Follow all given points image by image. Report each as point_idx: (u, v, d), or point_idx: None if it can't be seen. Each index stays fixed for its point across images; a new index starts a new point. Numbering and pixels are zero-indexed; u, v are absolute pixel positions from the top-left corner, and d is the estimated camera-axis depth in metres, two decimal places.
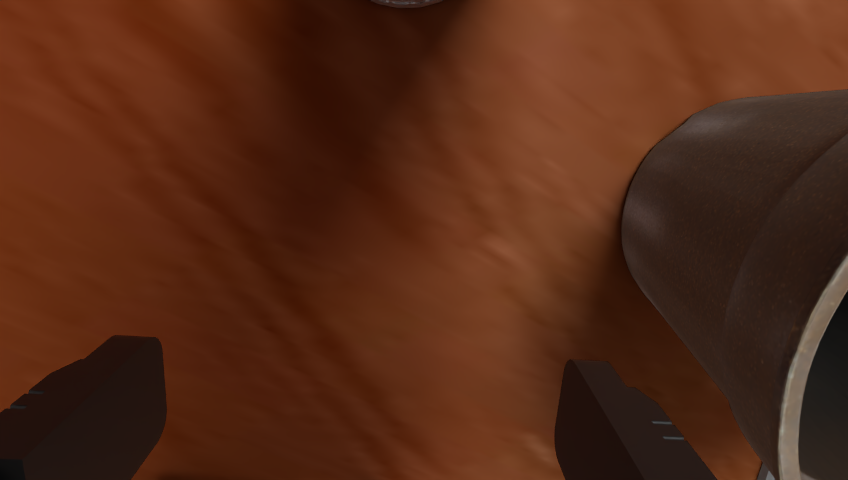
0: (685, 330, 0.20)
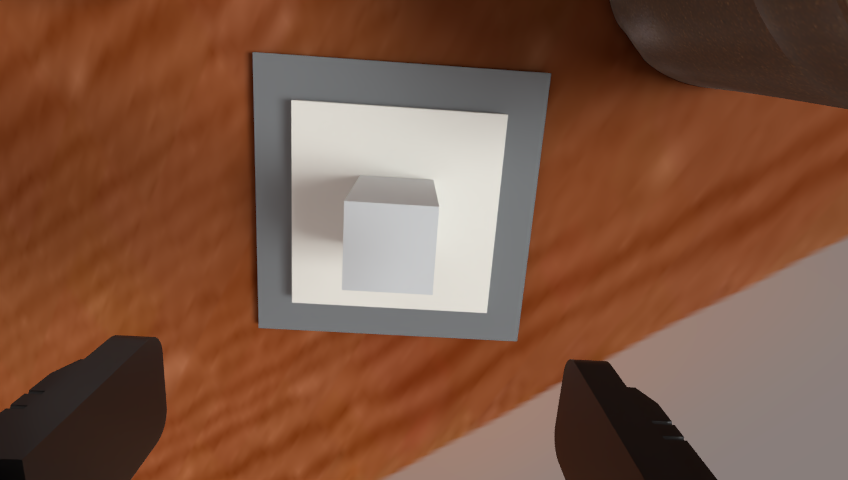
0: None
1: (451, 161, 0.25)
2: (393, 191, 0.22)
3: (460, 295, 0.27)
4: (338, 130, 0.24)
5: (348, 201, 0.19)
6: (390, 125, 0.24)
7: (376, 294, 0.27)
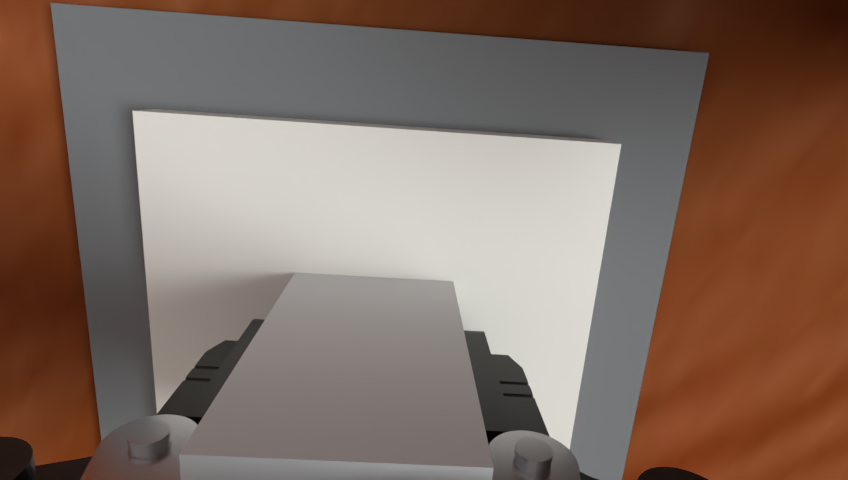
0: None
1: (492, 243, 0.11)
2: (357, 356, 0.08)
3: None
4: (243, 178, 0.11)
5: (195, 452, 0.06)
6: (359, 167, 0.11)
7: None
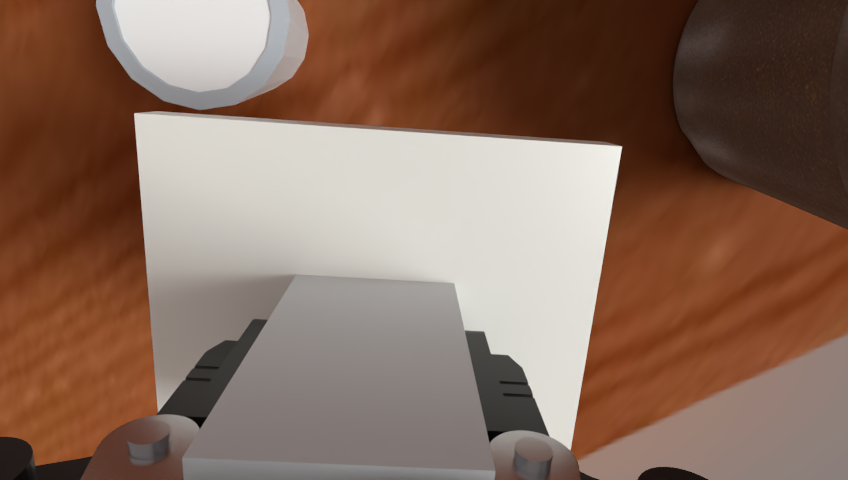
0: None
1: (493, 245, 0.12)
2: (358, 358, 0.08)
3: None
4: (245, 180, 0.11)
5: (198, 455, 0.06)
6: (360, 169, 0.11)
7: None
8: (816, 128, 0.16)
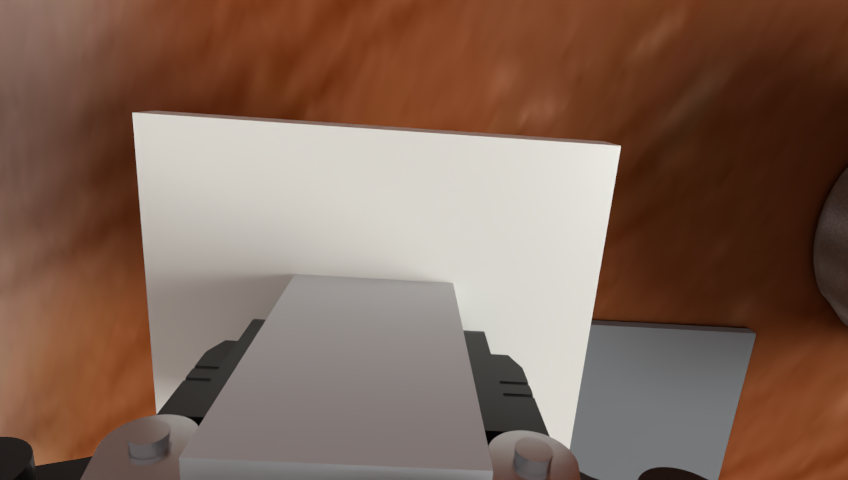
0: None
1: (492, 245, 0.11)
2: (356, 358, 0.08)
3: None
4: (243, 180, 0.11)
5: (195, 455, 0.06)
6: (359, 169, 0.11)
7: None
8: None
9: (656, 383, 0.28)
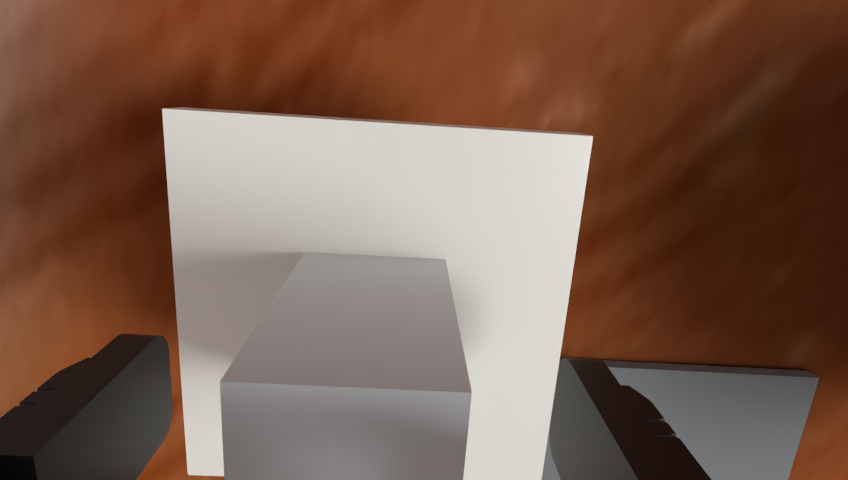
0: None
1: (480, 225, 0.13)
2: (360, 315, 0.10)
3: (493, 459, 0.15)
4: (259, 167, 0.12)
5: (232, 380, 0.07)
6: (361, 157, 0.12)
7: None
8: None
9: (699, 435, 0.23)
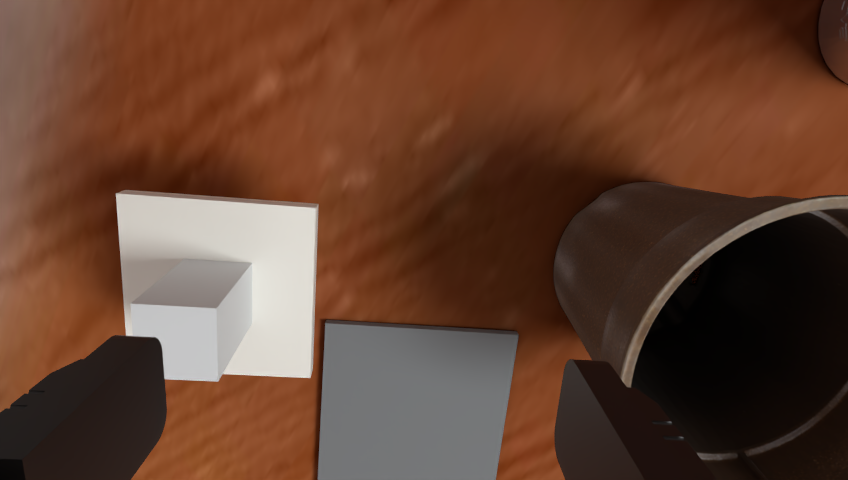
0: (673, 202, 0.28)
1: (267, 247, 0.28)
2: (193, 285, 0.24)
3: (284, 362, 0.30)
4: (161, 220, 0.27)
5: (135, 303, 0.22)
6: (209, 216, 0.27)
7: None
8: None
9: (451, 370, 0.39)
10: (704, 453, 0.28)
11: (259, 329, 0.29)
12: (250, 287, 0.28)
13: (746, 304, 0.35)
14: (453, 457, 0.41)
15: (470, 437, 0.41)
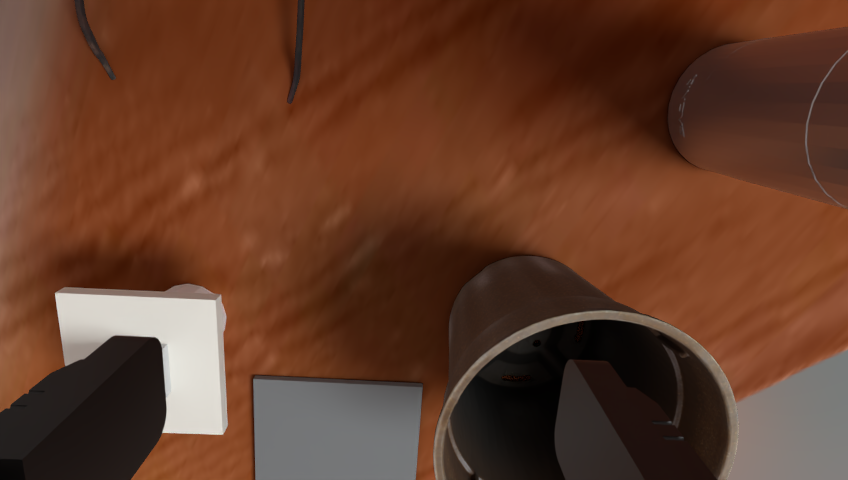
0: (515, 290, 0.34)
1: (179, 331, 0.34)
2: None
3: (200, 422, 0.36)
4: (92, 312, 0.34)
5: None
6: (130, 308, 0.33)
7: None
8: None
9: (365, 417, 0.45)
10: None
11: (177, 396, 0.35)
12: (166, 364, 0.34)
13: (611, 364, 0.40)
14: None
15: (387, 475, 0.46)
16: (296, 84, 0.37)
